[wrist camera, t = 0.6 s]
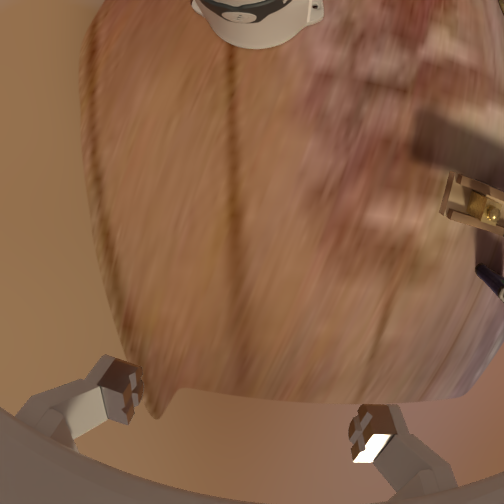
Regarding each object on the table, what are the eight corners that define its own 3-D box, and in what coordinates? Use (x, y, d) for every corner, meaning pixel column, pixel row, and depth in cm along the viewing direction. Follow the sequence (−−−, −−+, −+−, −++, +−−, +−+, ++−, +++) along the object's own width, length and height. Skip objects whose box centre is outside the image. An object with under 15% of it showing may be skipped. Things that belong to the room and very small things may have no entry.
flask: (504, 276, 44) (531, 305, 34) (496, 288, 45) (522, 318, 36) (479, 260, 43) (509, 290, 34) (471, 273, 45) (499, 305, 35)
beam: (430, 162, 38) (466, 177, 28) (525, 201, 37) (561, 221, 27) (421, 199, 41) (453, 223, 31) (516, 230, 40) (549, 255, 30)
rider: (471, 190, 32) (491, 201, 27) (486, 196, 31) (506, 207, 27) (465, 211, 33) (484, 224, 28) (480, 216, 33) (499, 229, 28)
